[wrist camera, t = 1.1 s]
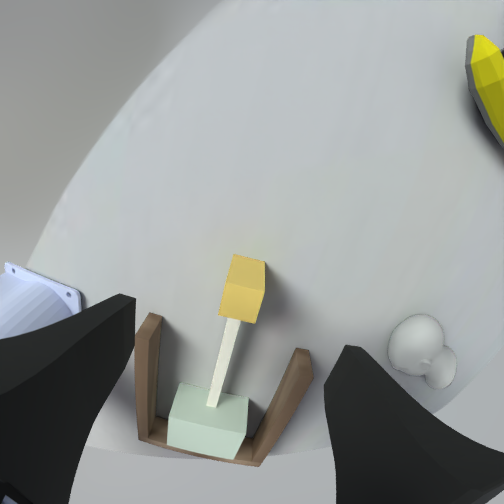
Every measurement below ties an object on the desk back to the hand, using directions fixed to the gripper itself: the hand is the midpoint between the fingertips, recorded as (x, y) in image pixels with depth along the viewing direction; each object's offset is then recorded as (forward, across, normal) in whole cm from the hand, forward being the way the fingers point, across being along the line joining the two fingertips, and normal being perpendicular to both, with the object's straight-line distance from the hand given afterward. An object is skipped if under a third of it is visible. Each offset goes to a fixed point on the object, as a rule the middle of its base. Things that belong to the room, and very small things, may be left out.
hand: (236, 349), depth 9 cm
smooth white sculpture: (+10, -15, +4) cm, 19 cm away
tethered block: (+9, 0, +9) cm, 13 cm away
